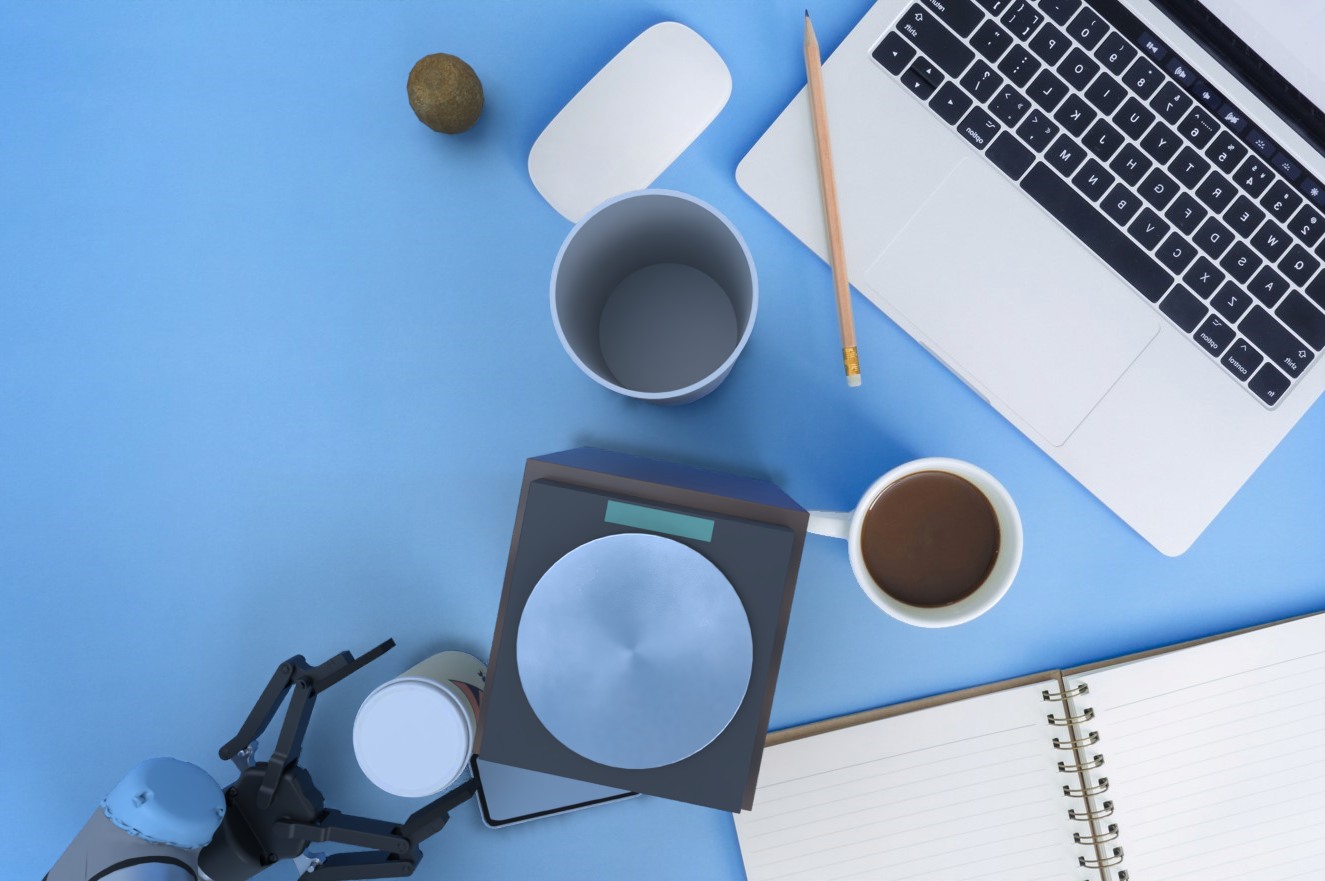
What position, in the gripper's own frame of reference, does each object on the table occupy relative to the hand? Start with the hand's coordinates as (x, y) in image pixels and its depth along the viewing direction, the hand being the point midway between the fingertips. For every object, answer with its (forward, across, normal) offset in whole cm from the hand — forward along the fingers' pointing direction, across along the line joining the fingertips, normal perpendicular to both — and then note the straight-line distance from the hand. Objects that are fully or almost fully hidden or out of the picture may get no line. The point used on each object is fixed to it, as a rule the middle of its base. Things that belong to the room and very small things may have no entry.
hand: (431, 715), depth 72 cm
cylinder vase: (+33, -17, -7) cm, 38 cm away
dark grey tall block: (+22, 0, -6) cm, 23 cm away
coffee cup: (0, 0, -7) cm, 7 cm away
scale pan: (+22, 0, +23) cm, 32 cm away
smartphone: (+4, +11, -7) cm, 13 cm away
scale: (+22, 0, +20) cm, 29 cm away
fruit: (+28, -44, -7) cm, 52 cm away
